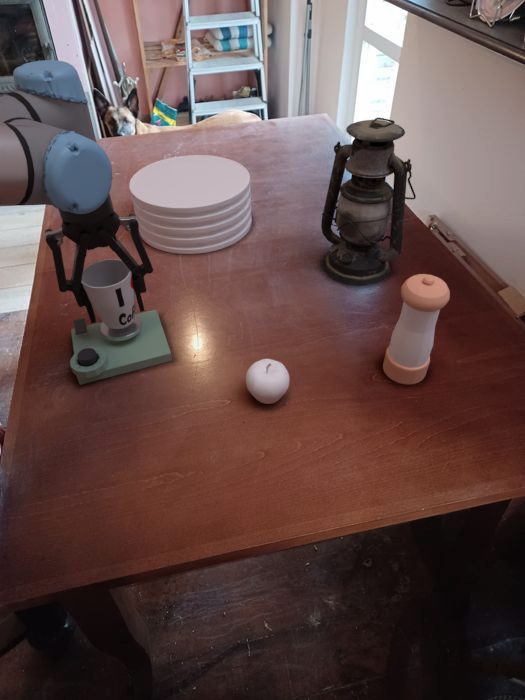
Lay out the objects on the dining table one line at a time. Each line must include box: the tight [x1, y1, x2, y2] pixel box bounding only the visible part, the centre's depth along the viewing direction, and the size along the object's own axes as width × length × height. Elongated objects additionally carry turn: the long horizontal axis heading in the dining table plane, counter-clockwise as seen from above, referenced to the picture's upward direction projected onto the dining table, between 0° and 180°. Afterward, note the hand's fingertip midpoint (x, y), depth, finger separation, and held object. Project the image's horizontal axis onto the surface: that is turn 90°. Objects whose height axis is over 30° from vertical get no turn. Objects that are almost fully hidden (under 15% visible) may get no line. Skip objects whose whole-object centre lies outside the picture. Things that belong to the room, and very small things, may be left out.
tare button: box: [77, 348, 98, 367], centre depth 80 cm, size 3×3×2 cm
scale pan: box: [73, 313, 142, 341], centre depth 86 cm, size 12×9×1 cm
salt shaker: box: [382, 273, 451, 385], centre depth 75 cm, size 7×7×19 cm
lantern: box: [320, 117, 417, 287], centre depth 96 cm, size 19×19×30 cm
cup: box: [81, 258, 136, 329], centre depth 81 cm, size 8×8×10 cm
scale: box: [69, 309, 173, 386], centre depth 85 cm, size 16×14×4 cm
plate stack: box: [128, 154, 253, 255], centre depth 115 cm, size 28×28×12 cm
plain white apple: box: [245, 358, 291, 405], centre depth 76 cm, size 7×7×8 cm
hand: (117, 312), depth 83 cm, fingers closed on cup, 8 cm apart
